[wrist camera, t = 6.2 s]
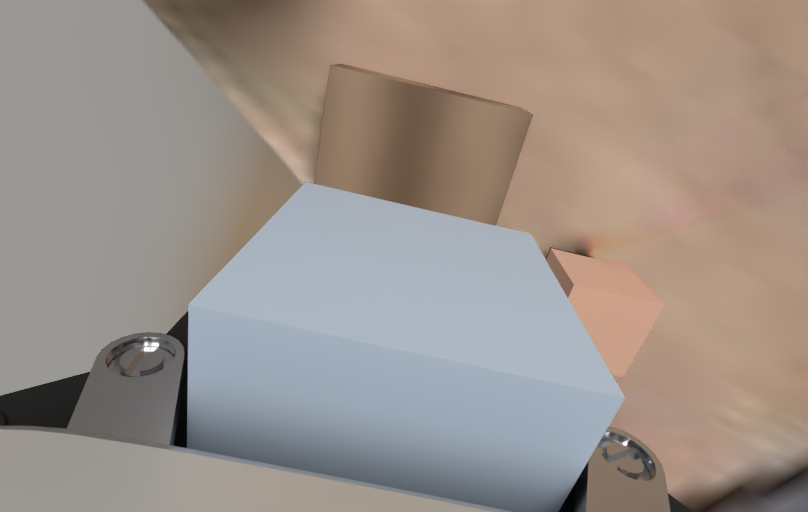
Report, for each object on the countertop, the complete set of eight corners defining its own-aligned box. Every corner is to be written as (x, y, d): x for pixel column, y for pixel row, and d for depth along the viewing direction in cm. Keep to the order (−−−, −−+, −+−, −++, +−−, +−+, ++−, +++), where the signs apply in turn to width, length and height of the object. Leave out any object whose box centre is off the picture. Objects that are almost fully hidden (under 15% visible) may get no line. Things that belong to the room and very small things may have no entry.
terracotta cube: (625, 264, 27) (664, 305, 23) (593, 328, 29) (623, 377, 25) (549, 246, 27) (574, 284, 23) (523, 312, 29) (540, 359, 25)
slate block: (530, 233, 11) (624, 397, 6) (466, 402, 14) (491, 625, 8) (306, 181, 11) (188, 304, 6) (282, 363, 14) (185, 568, 8)
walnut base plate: (521, 107, 24) (533, 114, 21) (469, 266, 28) (473, 289, 25) (341, 64, 23) (330, 65, 20) (316, 232, 27) (304, 252, 25)
